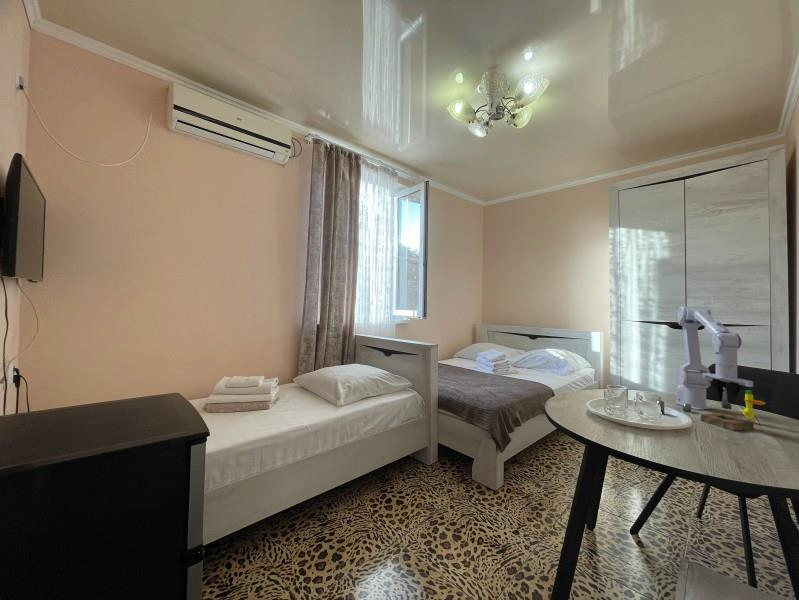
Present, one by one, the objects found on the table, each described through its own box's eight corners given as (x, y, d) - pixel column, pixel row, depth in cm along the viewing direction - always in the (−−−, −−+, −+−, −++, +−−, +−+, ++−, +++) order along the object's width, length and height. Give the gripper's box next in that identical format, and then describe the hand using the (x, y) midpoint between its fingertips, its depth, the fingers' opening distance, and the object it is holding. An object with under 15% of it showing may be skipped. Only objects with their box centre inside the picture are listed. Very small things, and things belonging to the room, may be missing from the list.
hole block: (700, 420, 124) (700, 414, 124) (720, 419, 127) (720, 412, 127) (732, 430, 115) (732, 423, 115) (753, 428, 117) (753, 421, 117)
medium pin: (654, 412, 134) (654, 400, 134) (659, 412, 134) (659, 400, 134) (660, 414, 131) (660, 402, 131) (666, 414, 132) (666, 401, 132)
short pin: (681, 410, 137) (681, 403, 137) (686, 410, 137) (686, 403, 137) (687, 412, 134) (687, 405, 134) (692, 412, 135) (692, 404, 135)
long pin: (719, 407, 122) (719, 387, 122) (725, 406, 122) (725, 386, 122) (728, 409, 119) (728, 389, 119) (733, 408, 120) (733, 388, 120)
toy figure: (766, 425, 121) (766, 392, 121) (763, 426, 119) (763, 393, 119) (741, 419, 127) (741, 388, 127) (737, 420, 125) (737, 389, 125)
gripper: (696, 361, 127) (696, 396, 127) (742, 369, 113) (742, 408, 113) (710, 361, 129) (710, 395, 128) (757, 368, 114) (757, 407, 114)
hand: (726, 401), depth 121 cm, fingers closed on long pin, 2 cm apart
